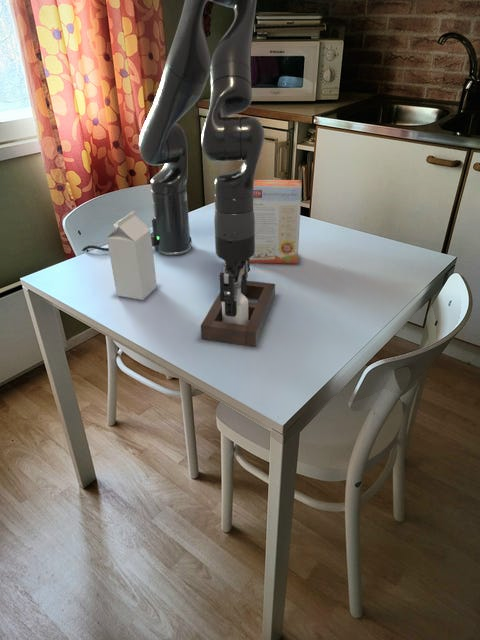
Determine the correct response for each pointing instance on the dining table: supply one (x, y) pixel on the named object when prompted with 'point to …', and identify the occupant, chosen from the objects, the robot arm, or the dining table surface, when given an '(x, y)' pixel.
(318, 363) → the dining table surface
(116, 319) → the dining table surface
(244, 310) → the eye dropper bottle
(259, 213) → the cracker box
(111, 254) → the milk carton
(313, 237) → the dining table surface
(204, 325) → the holder
